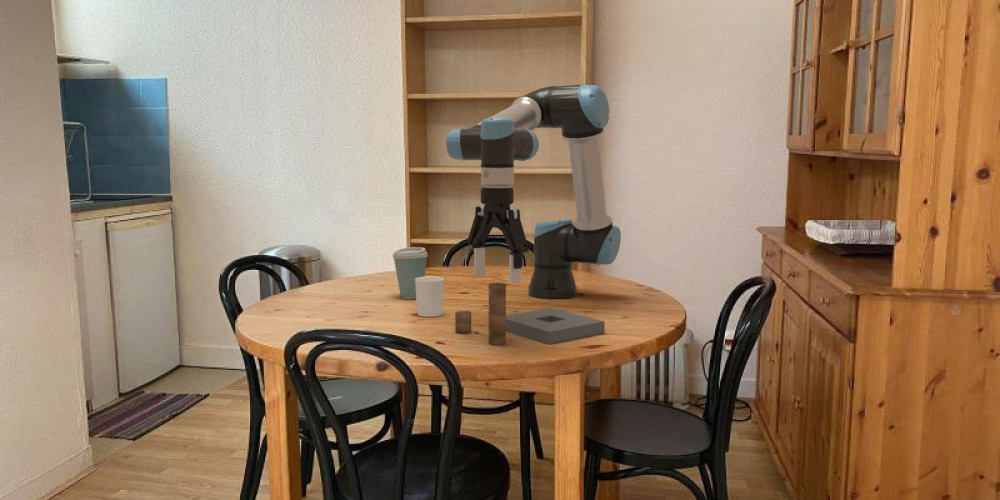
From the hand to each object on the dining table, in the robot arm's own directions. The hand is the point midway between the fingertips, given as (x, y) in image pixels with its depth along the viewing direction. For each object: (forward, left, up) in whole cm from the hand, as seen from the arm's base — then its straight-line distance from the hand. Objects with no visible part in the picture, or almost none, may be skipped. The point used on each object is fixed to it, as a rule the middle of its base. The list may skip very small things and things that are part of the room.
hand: (496, 279), depth 177 cm
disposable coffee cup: (-60, +12, -16) cm, 63 cm away
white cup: (-36, +4, -16) cm, 40 cm away
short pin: (-14, 0, -15) cm, 21 cm away
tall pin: (0, 0, -15) cm, 15 cm away
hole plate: (-2, +18, -15) cm, 24 cm away
